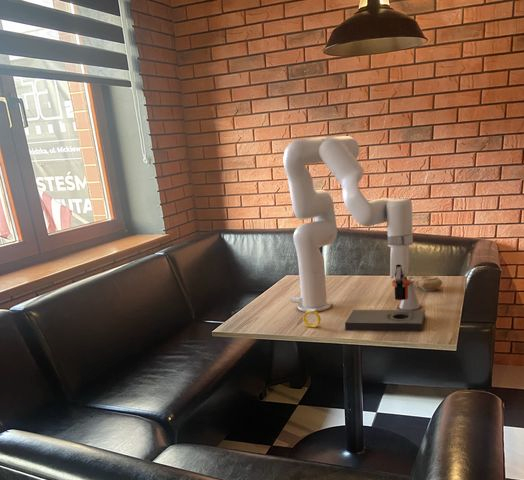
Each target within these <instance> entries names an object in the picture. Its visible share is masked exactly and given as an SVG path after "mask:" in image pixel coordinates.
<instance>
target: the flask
mask: <svg viewBox="0 0 524 480" xmlns="http://www.w3.org/2000/svg"><path fill="white" fill-rule="evenodd" d="M408 280H410V285H409V286H408V299H406V300H400V304H399V309H400V310H419V308H420V307H421V305H420V302H419V299H418V297H417V294H416V291H415V287H414V285H413V282H414V280H413V279H408Z"/></svg>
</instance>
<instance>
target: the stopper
mask: <svg viewBox="0 0 524 480" xmlns="http://www.w3.org/2000/svg"><path fill="white" fill-rule="evenodd" d="M401 280H402V279H401ZM409 285H410V280H408V279H405V280H404V287H405V292H406V298H405V299H404V300H406V299H408V286H409ZM391 286H392V287H394V288H395V279H394V280H392V281H391Z"/></svg>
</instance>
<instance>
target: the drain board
mask: <svg viewBox="0 0 524 480" xmlns="http://www.w3.org/2000/svg"><path fill="white" fill-rule="evenodd" d="M425 318H426V309H412V310H404V309H353V310H352V311H351V313H350V314H349V316H348V317H347V318H346V321H345V322H344V328H345V330H344V331H386V332H388V331H389V332H390V331H391V332H422V331H423V326H424V323H425Z"/></svg>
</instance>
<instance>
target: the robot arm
mask: <svg viewBox="0 0 524 480" xmlns="http://www.w3.org/2000/svg"><path fill="white" fill-rule="evenodd" d="M359 155H360V146H359V143H358V141H357V140H356V138H354V137H352V136H350V135H342V136H341V135H340V136H338V135H337V136H334V135H333V136H329V135H328V136H327V135H326V136H325V135H324V136H314V137H303V138H298V139H295V140H293V141H291V142H290V143H288V145H287V146H286V147H285V149H284V151H283V158H282V160H283V161H282V162H283V163H282V164H283V168H284V172H285V175H286V178H287V182H288V188H289V194H290V201H291V206H292V210H293V211H292V212H293V214H294V216H295V218H297V219H298V220H309V219H314V221H310V222H306V223H302V224H300V225H299V226H297V227H296V228H295V230H294V232H293V236H292V237H293V238H292V239H293V244H294V247H295V251H296V256H297V264H298V277H299V287H300V295H299V296H291V297H290V302H291V303H292V304H298V305H297V309H298V310H299V311H300V312H304V313H305V312H307V310H308V309H315V310H316V312H317V313H319V312H323V311H327V310H328V309H330V308H332V303H331V301H329V300H328V299H327V285H326V284H327V283H326V270H325V269H326V268H325V259H324V256H323V254H322V252H321V250H320V248H321V247H325V246H329V245H331V244H332V243H334V242H335V241H336V239H337V237H338V227H337V218H336V212H335V206H334V205H335V204H334V200H333V197H332V196H331V194H330V193H329V192H328V191H327V190H325V189H322V188H317V189H315V187H314V181H313V177H312V174H311V172H310V170H309V169H308V168H307V167H306V166H307V165H314V164H320V163H324V164H325V166H326V167H327V169H328V170H329V171H330V173H331V174H332V175H333V176H334V178H335V179H336V180H337V182H338V183H339V185H340V186H341V189H342V190H341V195H342V200H343V204H344V206H345V208H346V210H347V211H348V213H349V214H350V215H351V216H352V218H353V219H354V220H355V221H356V222H357V224H359V225H360V226H362V227H372V226H375V225H376V226H377V225H380V224H383V223H386V227H387V229H386V230H387V231H386V232H387V247H389V248H390V253H389V254H390V256H389V257H390V259H389V261H390V263H389V264H390V265H389V266H390V267H389V269H390V271H389V276H390V279H394V280H395V287H394V299H395V300H396V301H402V300H404V299H405V298H406V292H405V287H404V280H405V279H407V278H408V274H409V270H410V246H412V245H413V241H414V239H413V238H414V237H413V236H414V235H413V202H412V200H411V199H410V198H403V197H402V198H391V197H381V198H376V199H371V200H368V199H367V198H366V197H365V195H363V193H362V192H361V190H360V188H359V182H361V180H362V178H363V177H364V175H365V169H364V167H363V166H362V164H361V163H360V162H359V161H358V160H357V158H358V157H359ZM401 279H402V280H401Z"/></svg>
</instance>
